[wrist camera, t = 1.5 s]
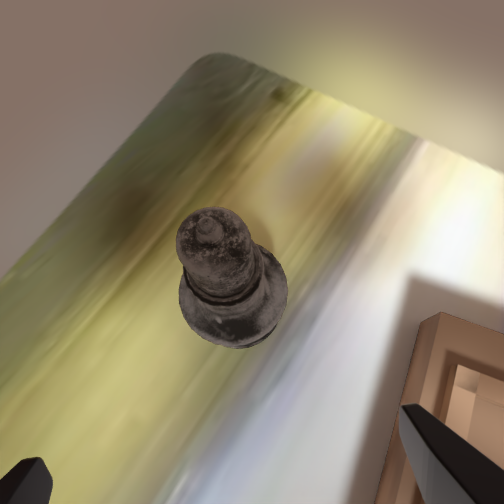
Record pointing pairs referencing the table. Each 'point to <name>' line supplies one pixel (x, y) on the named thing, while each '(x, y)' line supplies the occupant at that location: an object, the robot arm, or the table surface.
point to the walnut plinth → (450, 396)
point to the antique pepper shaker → (228, 280)
